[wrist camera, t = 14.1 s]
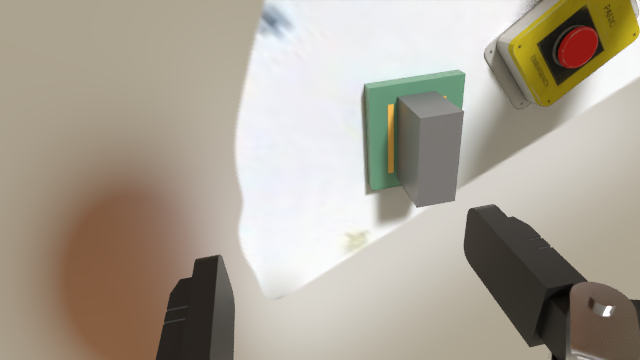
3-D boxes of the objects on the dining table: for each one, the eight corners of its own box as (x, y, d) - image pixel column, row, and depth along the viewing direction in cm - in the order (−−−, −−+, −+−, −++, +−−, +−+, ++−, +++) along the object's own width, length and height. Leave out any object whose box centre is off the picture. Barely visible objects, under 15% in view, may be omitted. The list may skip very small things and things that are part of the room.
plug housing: (397, 96, 39) (420, 118, 34) (435, 90, 39) (463, 111, 34) (396, 178, 44) (416, 207, 39) (430, 172, 44) (454, 200, 39)
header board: (364, 84, 39) (379, 100, 35) (458, 69, 40) (483, 83, 36) (368, 183, 45) (381, 207, 41) (449, 169, 46) (470, 191, 42)
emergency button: (502, 59, 36) (652, -64, 33) (478, 49, 40) (610, -62, 36) (539, 125, 41) (675, 22, 37) (514, 111, 44) (636, 16, 41)
